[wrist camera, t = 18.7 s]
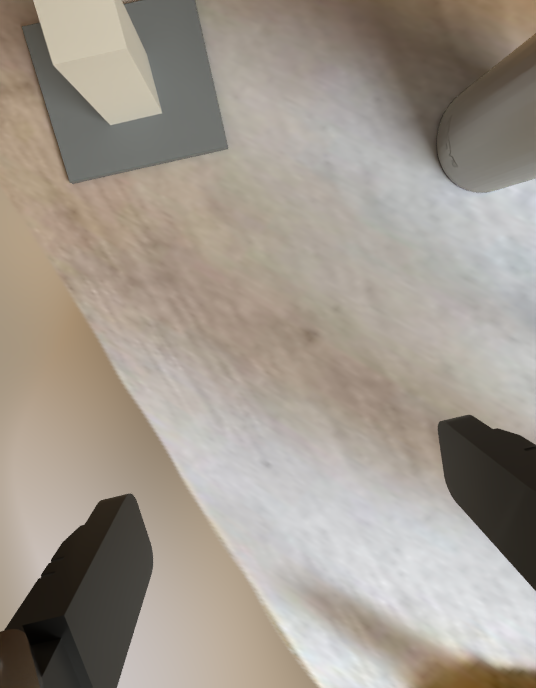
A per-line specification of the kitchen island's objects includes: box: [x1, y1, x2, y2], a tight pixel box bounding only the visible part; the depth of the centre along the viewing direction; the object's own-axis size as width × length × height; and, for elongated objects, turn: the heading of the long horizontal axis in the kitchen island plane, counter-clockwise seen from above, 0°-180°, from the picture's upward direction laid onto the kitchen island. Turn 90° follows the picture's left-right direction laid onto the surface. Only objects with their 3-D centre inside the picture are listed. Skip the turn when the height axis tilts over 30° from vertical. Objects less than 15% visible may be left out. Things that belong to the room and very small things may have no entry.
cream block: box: [33, 0, 162, 125], centre depth 28 cm, size 4×4×10 cm
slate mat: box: [22, 0, 228, 184], centre depth 33 cm, size 14×12×1 cm
